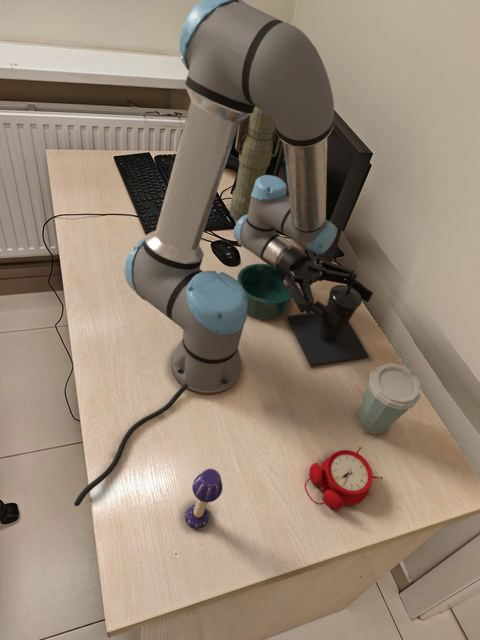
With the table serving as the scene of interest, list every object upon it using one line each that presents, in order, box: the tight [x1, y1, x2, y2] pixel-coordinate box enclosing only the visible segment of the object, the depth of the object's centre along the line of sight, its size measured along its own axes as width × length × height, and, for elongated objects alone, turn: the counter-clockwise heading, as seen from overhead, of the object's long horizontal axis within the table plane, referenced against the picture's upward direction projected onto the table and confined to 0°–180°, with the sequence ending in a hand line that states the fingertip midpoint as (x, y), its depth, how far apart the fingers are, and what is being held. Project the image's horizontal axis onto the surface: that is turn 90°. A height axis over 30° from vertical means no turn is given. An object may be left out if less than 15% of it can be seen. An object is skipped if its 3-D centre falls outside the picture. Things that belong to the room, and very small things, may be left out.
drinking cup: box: [319, 273, 363, 343], centre depth 108 cm, size 8×8×20 cm
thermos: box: [229, 106, 281, 222], centre depth 131 cm, size 9×12×35 cm
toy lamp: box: [184, 468, 223, 530], centre depth 75 cm, size 5×5×17 cm
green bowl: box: [236, 263, 293, 320], centre depth 118 cm, size 15×15×6 cm
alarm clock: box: [304, 446, 383, 511], centre depth 89 cm, size 10×6×15 cm
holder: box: [286, 312, 370, 368], centre depth 116 cm, size 16×16×1 cm
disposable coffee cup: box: [357, 362, 421, 435], centre depth 96 cm, size 11×11×15 cm
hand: (354, 309), depth 105 cm, fingers open, 13 cm apart
